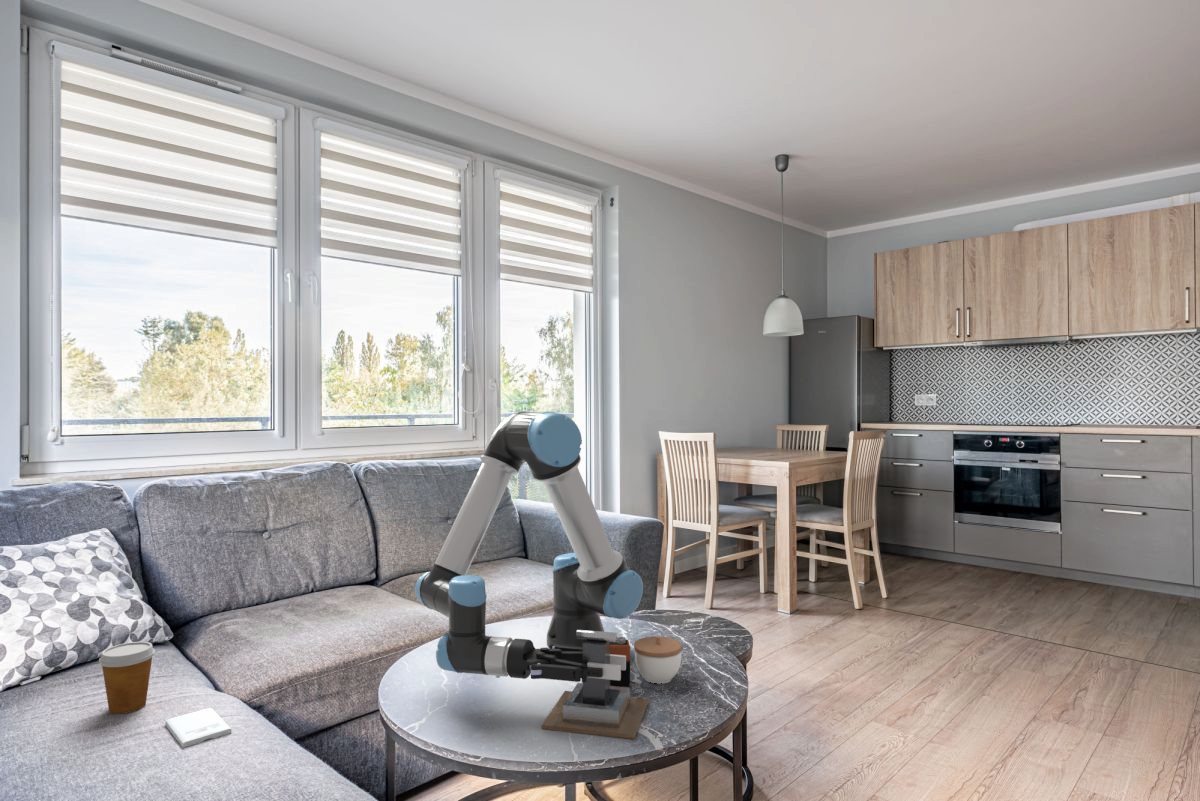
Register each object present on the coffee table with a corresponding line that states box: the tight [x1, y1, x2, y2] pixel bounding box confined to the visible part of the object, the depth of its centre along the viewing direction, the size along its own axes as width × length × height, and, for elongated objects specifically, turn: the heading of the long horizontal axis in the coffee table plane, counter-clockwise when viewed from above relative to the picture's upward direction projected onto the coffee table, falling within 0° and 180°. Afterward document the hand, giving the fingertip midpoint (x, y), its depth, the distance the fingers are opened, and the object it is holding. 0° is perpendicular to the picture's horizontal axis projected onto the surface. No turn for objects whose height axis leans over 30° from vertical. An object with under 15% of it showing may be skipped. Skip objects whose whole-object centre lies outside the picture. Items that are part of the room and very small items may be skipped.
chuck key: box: [576, 630, 618, 706], centre depth 139 cm, size 4×8×14 cm, turn 77°
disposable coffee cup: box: [98, 641, 156, 715], centre depth 144 cm, size 10×10×12 cm
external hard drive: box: [165, 707, 232, 748], centre depth 134 cm, size 2×8×12 cm
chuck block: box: [541, 682, 650, 740], centre depth 140 cm, size 16×18×4 cm
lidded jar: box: [633, 635, 683, 685], centre depth 158 cm, size 11×11×9 cm
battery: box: [610, 636, 631, 688], centre depth 155 cm, size 4×7×10 cm, turn 92°
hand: (622, 667), depth 138 cm, fingers closed on chuck key, 4 cm apart
